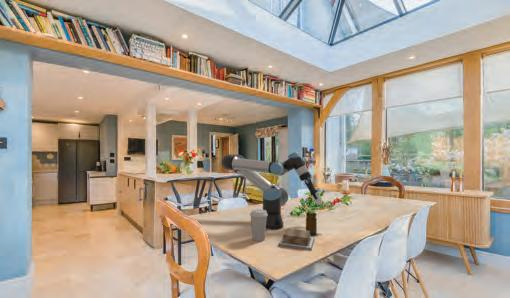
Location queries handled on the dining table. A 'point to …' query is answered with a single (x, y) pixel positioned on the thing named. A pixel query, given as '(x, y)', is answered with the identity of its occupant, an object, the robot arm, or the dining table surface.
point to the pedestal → (296, 237)
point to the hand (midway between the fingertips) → (319, 202)
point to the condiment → (312, 224)
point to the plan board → (298, 245)
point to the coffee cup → (258, 224)
